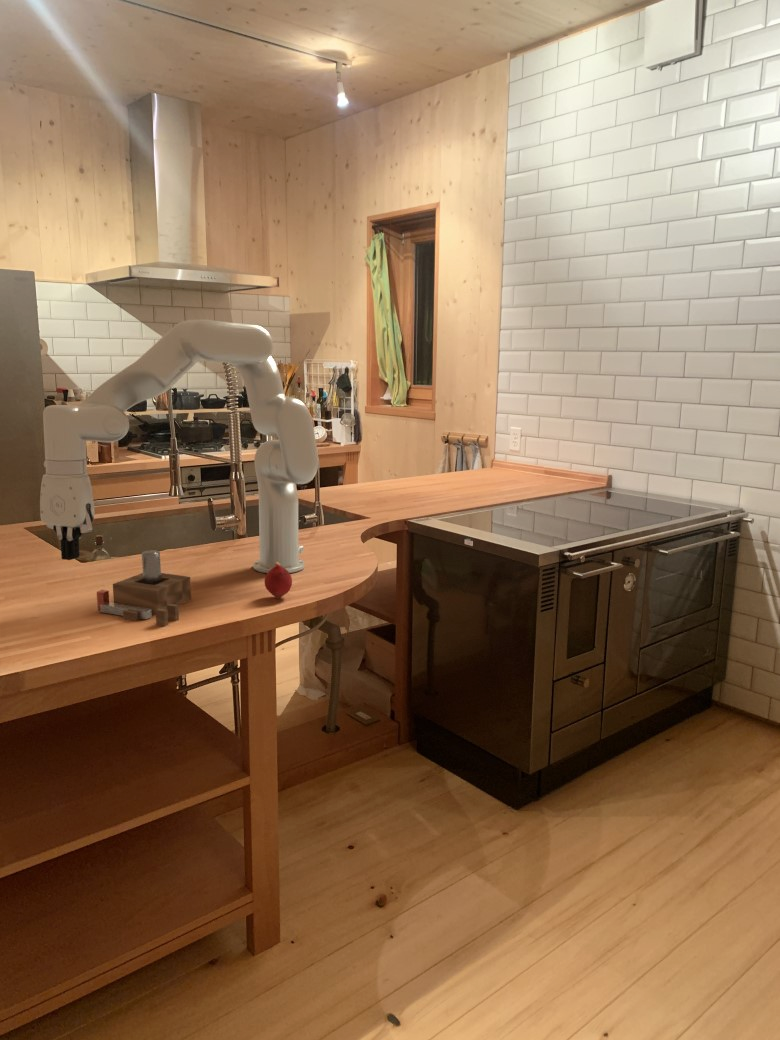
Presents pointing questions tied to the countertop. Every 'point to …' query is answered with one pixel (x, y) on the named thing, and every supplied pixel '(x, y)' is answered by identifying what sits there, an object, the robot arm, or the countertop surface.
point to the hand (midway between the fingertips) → (70, 558)
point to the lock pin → (118, 606)
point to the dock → (153, 596)
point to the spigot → (151, 567)
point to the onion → (278, 581)
